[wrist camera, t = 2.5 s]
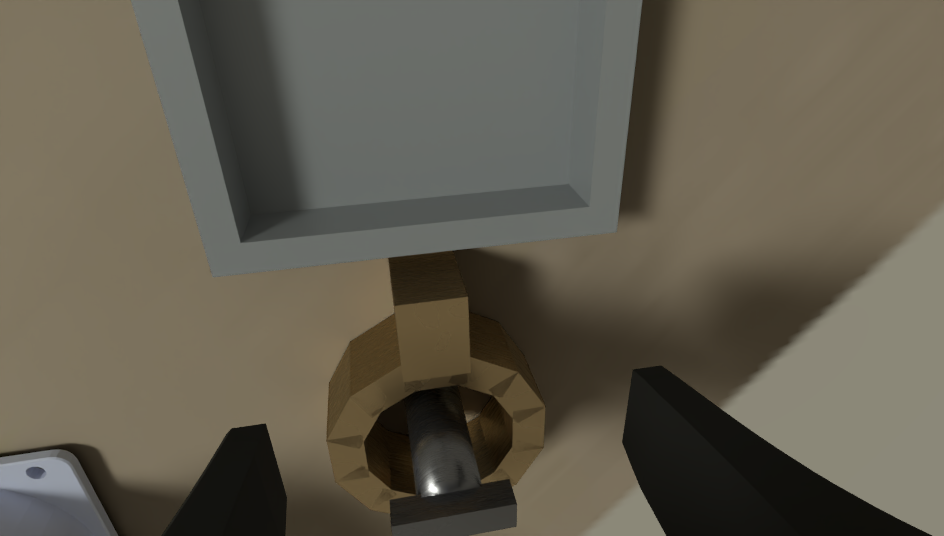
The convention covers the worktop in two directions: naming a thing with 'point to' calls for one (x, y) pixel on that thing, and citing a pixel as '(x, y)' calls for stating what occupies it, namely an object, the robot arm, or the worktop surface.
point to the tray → (392, 122)
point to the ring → (429, 384)
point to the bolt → (447, 474)
